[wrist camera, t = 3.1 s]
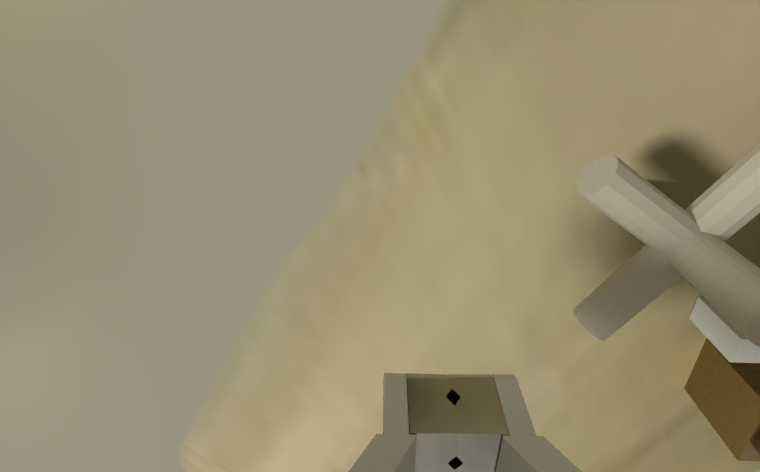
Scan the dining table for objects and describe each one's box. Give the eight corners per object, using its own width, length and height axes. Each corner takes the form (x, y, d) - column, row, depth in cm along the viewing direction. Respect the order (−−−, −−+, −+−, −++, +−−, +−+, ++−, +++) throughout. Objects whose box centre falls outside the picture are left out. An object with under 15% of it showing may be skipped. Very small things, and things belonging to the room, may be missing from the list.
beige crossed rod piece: (636, 42, 19) (848, 80, 10) (780, 170, 21) (1053, 291, 12) (482, 217, 23) (537, 353, 14) (617, 308, 25) (737, 473, 16)
